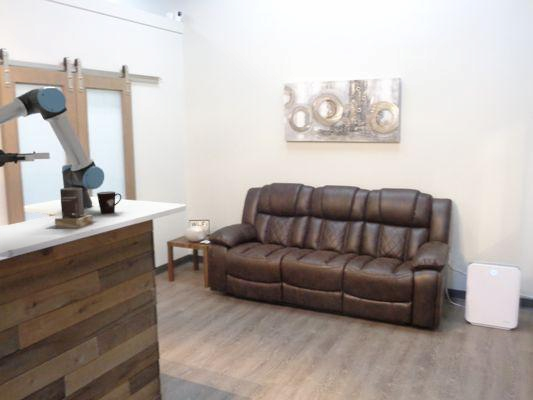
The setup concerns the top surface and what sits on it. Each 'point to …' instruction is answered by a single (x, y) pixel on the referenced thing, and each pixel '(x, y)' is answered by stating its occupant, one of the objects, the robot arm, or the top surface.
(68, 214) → the box
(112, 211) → the coffee mug
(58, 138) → the robot arm
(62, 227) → the mat
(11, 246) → the top surface
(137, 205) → the top surface
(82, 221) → the wooden tray
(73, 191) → the pillar candle
